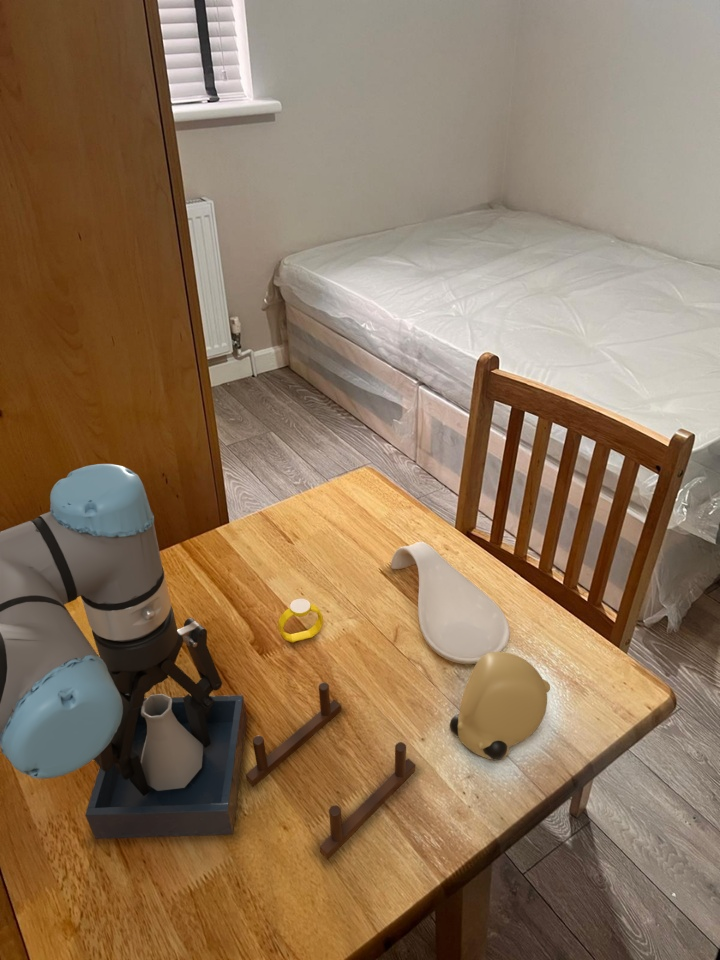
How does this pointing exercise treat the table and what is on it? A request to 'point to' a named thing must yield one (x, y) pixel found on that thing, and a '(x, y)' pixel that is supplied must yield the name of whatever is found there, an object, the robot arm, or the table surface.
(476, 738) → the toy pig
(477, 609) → the spoon rest
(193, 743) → the flask
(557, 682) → the table surface
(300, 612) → the watch
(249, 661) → the table surface
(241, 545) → the table surface
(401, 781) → the drying rack
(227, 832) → the basin
